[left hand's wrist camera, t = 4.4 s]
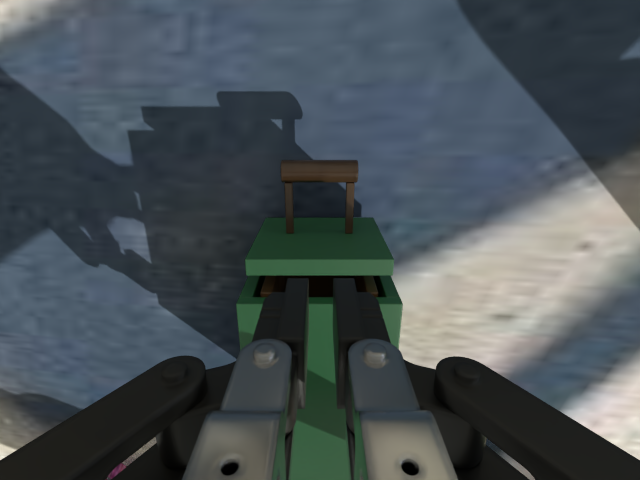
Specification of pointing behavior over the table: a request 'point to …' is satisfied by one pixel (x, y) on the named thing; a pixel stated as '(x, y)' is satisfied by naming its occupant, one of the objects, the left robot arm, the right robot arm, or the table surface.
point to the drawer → (319, 238)
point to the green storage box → (319, 378)
